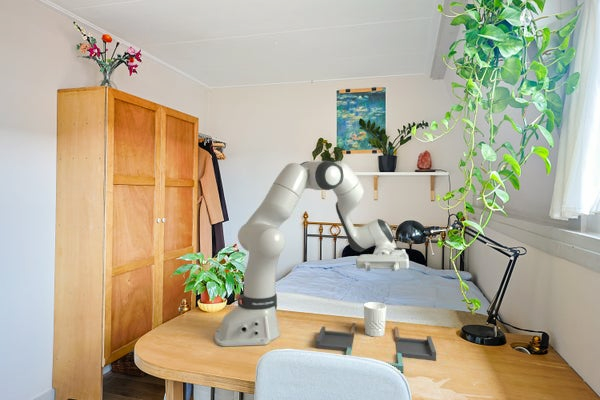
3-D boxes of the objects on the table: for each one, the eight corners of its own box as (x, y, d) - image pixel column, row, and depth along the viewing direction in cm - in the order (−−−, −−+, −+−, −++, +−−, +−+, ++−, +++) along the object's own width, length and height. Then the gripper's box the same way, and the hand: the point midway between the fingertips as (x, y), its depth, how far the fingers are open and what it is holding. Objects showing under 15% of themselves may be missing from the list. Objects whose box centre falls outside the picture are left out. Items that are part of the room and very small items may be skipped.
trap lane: (326, 323, 137) (326, 317, 137) (426, 332, 129) (426, 325, 129) (309, 362, 106) (309, 354, 106) (441, 377, 98) (441, 368, 98)
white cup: (361, 335, 126) (361, 307, 126) (366, 327, 134) (366, 301, 133) (384, 339, 123) (384, 310, 123) (387, 331, 131) (388, 303, 130)
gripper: (358, 249, 151) (352, 261, 138) (409, 248, 144) (407, 261, 131) (359, 263, 152) (353, 276, 139) (410, 263, 145) (409, 277, 132)
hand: (380, 269), depth 135 cm, fingers open, 8 cm apart
